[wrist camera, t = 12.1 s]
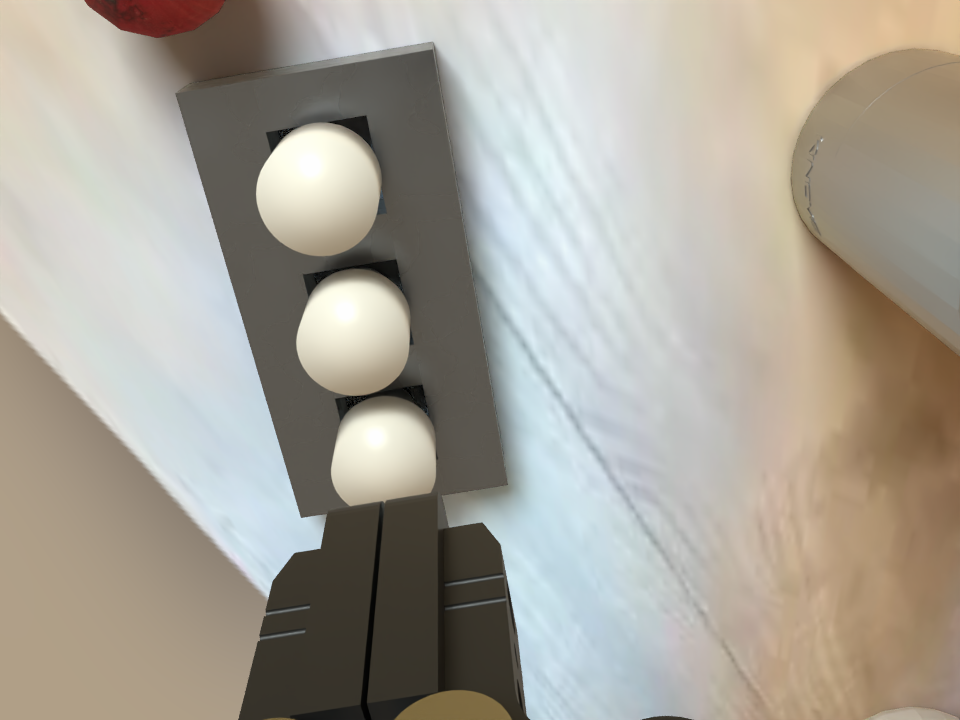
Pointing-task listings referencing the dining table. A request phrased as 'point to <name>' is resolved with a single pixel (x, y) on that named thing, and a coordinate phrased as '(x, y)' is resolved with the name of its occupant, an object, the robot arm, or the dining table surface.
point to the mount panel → (352, 254)
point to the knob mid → (354, 332)
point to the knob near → (320, 189)
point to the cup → (913, 714)
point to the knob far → (384, 450)
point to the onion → (156, 14)
